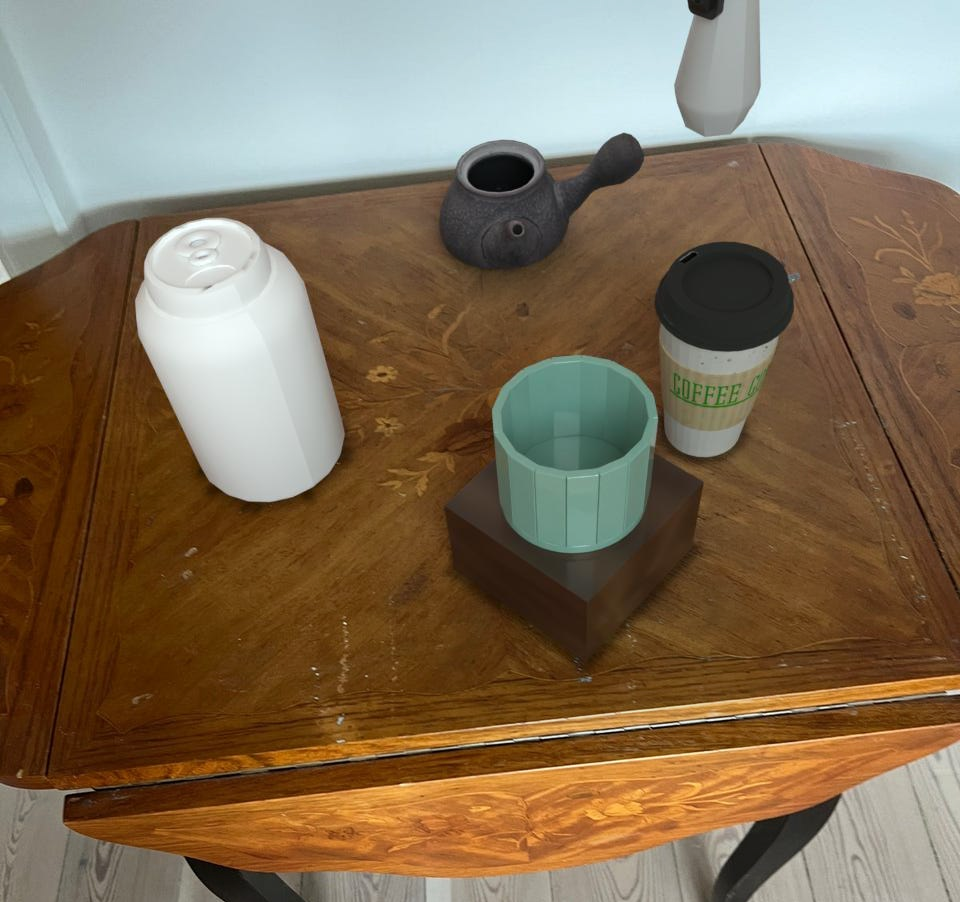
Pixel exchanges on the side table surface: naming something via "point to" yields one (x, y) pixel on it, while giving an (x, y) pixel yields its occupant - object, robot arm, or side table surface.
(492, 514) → the block
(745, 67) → the salt shaker
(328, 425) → the can
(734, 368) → the coffee cup
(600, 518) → the green cup
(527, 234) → the teapot
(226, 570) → the side table surface
